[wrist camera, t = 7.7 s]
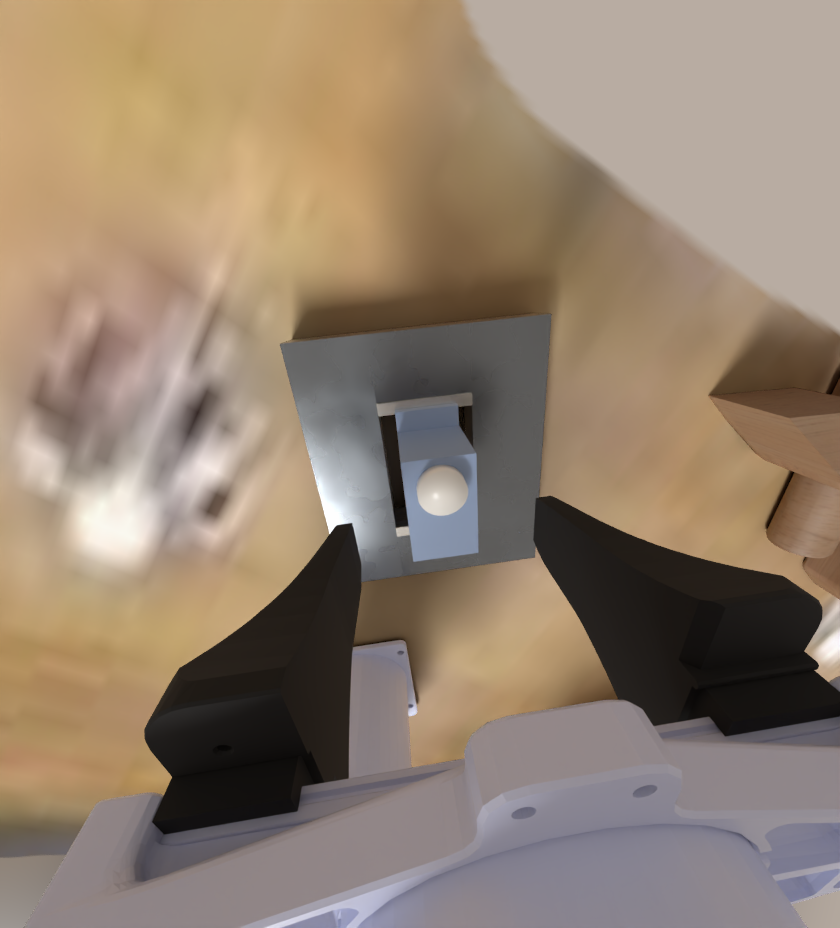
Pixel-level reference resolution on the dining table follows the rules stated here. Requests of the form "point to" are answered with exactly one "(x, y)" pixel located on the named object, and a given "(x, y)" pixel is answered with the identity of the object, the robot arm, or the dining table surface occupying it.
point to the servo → (438, 482)
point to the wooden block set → (798, 469)
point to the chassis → (420, 385)
